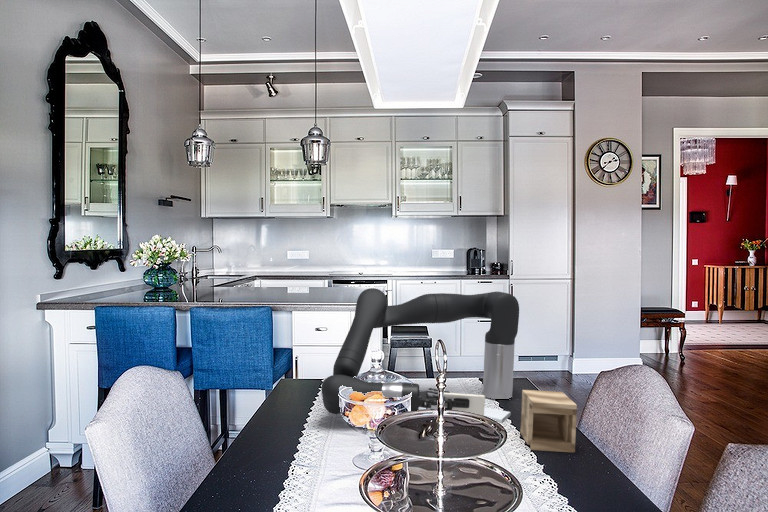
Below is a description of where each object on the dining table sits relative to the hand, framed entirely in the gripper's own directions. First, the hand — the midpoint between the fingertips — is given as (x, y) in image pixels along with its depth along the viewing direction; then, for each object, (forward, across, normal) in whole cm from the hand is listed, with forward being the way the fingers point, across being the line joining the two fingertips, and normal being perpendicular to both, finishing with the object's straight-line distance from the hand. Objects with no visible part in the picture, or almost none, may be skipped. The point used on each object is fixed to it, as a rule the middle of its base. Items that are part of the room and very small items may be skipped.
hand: (468, 401), depth 128 cm
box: (+19, +4, -7) cm, 20 cm away
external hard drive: (+7, -14, -8) cm, 18 cm away
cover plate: (-2, 0, -8) cm, 8 cm away
